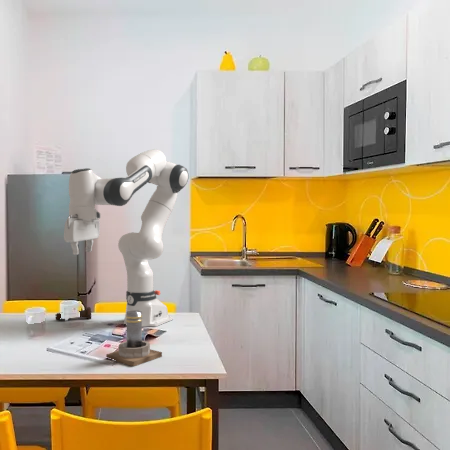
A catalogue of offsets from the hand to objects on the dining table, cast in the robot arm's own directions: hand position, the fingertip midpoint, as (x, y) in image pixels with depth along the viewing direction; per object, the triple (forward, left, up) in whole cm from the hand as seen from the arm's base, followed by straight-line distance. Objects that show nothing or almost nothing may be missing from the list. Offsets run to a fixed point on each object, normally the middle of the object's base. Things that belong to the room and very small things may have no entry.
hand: (82, 253), depth 178 cm
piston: (-3, +23, -33) cm, 40 cm away
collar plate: (-3, +23, -34) cm, 41 cm away
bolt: (-25, -39, -35) cm, 58 cm away
